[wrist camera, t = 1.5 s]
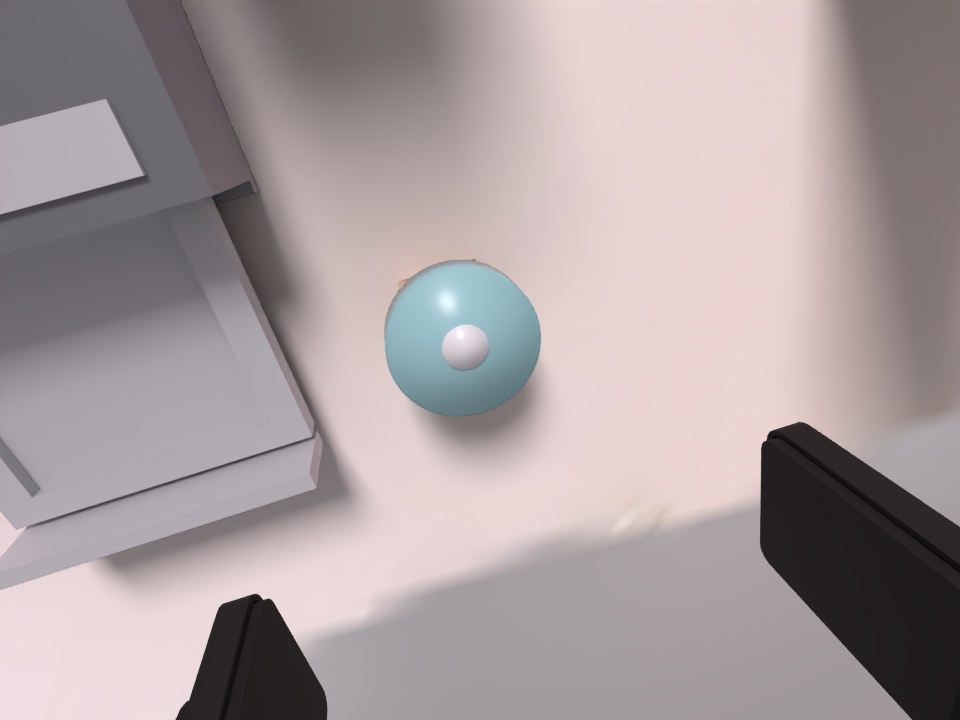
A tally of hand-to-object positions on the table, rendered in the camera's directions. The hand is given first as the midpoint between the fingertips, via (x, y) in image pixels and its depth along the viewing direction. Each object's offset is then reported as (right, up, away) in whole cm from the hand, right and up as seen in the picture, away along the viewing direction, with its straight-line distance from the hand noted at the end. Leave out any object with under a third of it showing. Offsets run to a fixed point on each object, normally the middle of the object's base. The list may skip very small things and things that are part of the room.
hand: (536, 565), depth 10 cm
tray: (-16, +4, +12) cm, 21 cm away
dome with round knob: (-2, +5, +12) cm, 13 cm away
